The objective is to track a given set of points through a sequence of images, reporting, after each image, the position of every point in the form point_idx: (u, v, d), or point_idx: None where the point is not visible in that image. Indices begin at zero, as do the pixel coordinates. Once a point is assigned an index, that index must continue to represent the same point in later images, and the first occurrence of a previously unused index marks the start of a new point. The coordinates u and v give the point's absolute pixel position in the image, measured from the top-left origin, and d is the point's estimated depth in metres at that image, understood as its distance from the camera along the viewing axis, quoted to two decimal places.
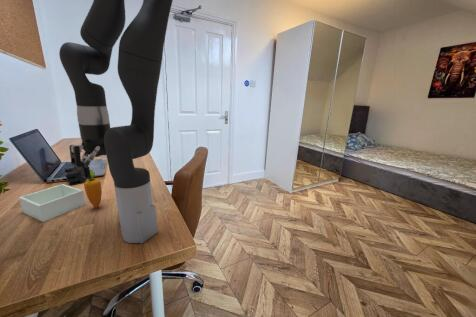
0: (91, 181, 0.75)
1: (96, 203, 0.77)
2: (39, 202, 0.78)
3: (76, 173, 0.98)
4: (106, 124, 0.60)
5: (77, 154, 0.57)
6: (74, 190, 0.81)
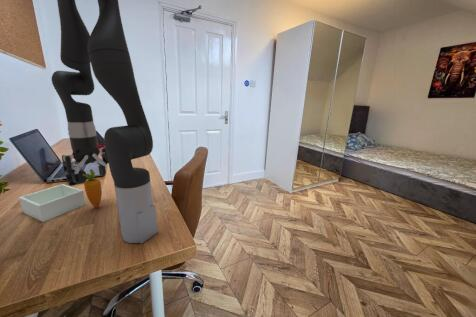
0: (91, 181, 0.75)
1: (96, 203, 0.77)
2: (39, 202, 0.78)
3: None
4: (93, 137, 0.71)
5: (68, 162, 0.67)
6: (74, 190, 0.81)
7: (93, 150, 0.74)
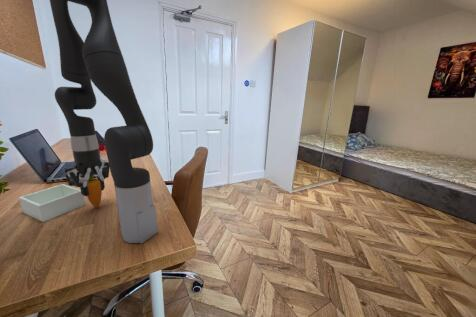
0: (91, 181, 0.75)
1: (96, 203, 0.77)
2: (39, 202, 0.78)
3: None
4: (96, 150, 0.72)
5: (73, 178, 0.69)
6: (74, 190, 0.81)
7: (95, 162, 0.75)
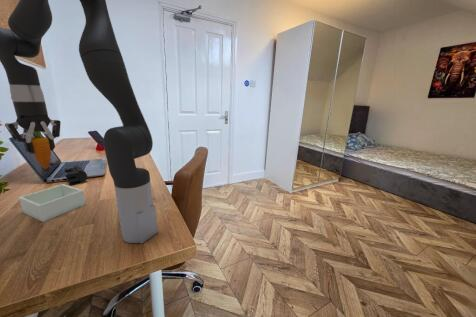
0: (37, 138, 0.70)
1: (44, 163, 0.72)
2: (39, 202, 0.78)
3: (76, 173, 0.98)
4: (40, 102, 0.67)
5: (13, 130, 0.64)
6: (74, 190, 0.81)
7: (42, 118, 0.70)
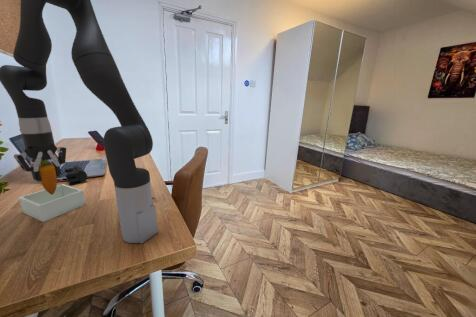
0: (43, 166, 0.72)
1: (50, 189, 0.75)
2: (39, 202, 0.78)
3: (76, 173, 0.98)
4: (47, 133, 0.70)
5: (22, 161, 0.67)
6: (74, 190, 0.81)
7: (49, 147, 0.73)
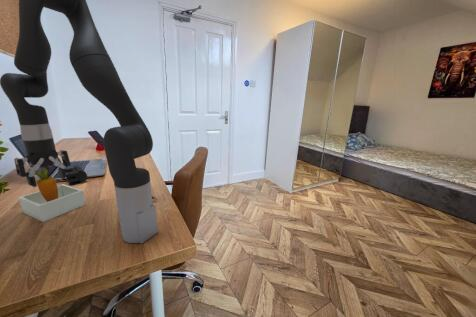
0: (44, 179, 0.73)
1: None
2: (39, 202, 0.78)
3: (76, 173, 0.98)
4: (48, 139, 0.70)
5: (20, 165, 0.67)
6: (74, 190, 0.81)
7: (50, 153, 0.73)
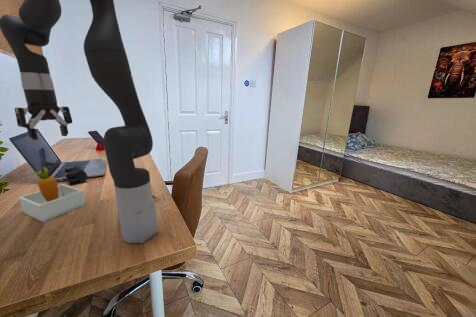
0: (45, 179, 0.73)
1: None
2: (39, 202, 0.78)
3: (76, 173, 0.98)
4: (50, 90, 0.68)
5: (21, 115, 0.64)
6: (74, 190, 0.81)
7: (51, 106, 0.71)
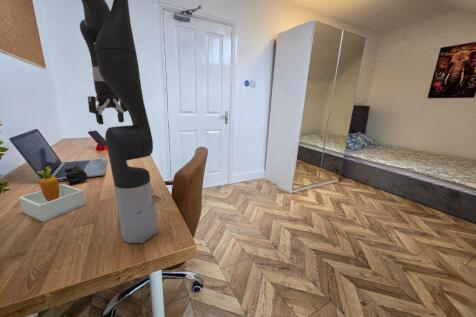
0: (47, 179, 0.74)
1: None
2: (39, 202, 0.78)
3: (76, 173, 0.98)
4: None
5: (93, 102, 0.76)
6: (74, 190, 0.81)
7: (113, 96, 0.83)
